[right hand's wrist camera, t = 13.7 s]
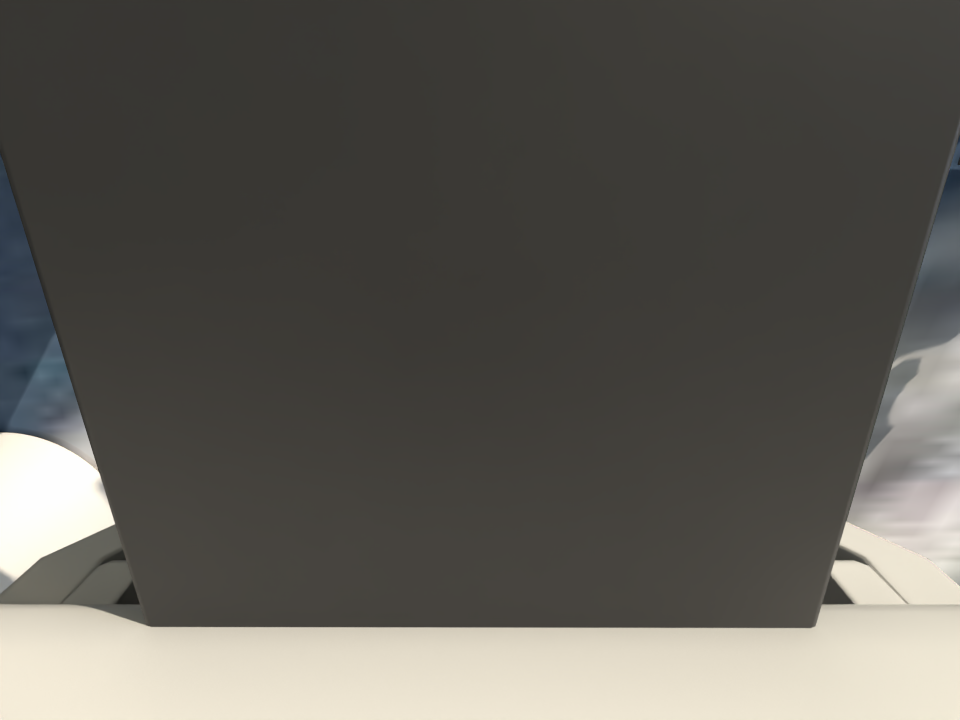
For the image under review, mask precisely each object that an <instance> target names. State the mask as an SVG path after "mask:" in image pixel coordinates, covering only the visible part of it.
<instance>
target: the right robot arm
mask: <svg viewBox="0 0 960 720" xmlns="http://www.w3.org/2000/svg"><path fill="white" fill-rule="evenodd" d="M0 720H960V586H959V585H958V584H956V583H955V582H954V581H953V580H952V579H951V578H950V577H948V576H947V575H946V574H945V573H944V572H943V571H942V570H940V569H939V568H938V567H937V566H936V565H935V564H934V563H933V562H931V561H930V560H929V559H928V558H925V557H923V556H921V555H919V554H917V553H914V552H912V551H910V550H908V549H905V548H903V547H901V546H899V545H897V544H894V543H892V542H890V541H888V540H886V539H883V538H881V537H879V536H877V535H875V534H872V533H870V532H868V531H866V530H863V529H861V528H859V527H857V526H855V525H852V524H850V523H848V522H846V524H845V527H844V531H843V534H842V537H841V541H840V544H839V548H838V551H837V555H836V558H835V561H834V565H833V568H832V572H831V575H830V578H829V582H828V585H827V589H826V592H825V595H824V599H823V602H822V606H821V609H820V613H819V616H818V619H817V623H816V626H815V627H812V628H441V627H150V626H147V625H146V622H145V619H144V616H143V613H142V609H141V606H140V603H139V600H138V597H137V593H136V590H135V587H134V584H133V580H132V577H131V574H130V571H129V567H128V564H127V561H126V558H125V554H124V551H123V548H122V545H121V541H120V538H119V535H118V532H117V529H116V525H115V522H114V519H113V516H112V512H111V509H110V506H109V503H108V499H107V496H106V493H105V490H104V486H103V483H102V480H101V477H100V473H99V472H98V471H97V470H96V469H95V468H93V467H92V466H91V465H90V464H89V463H87V462H86V461H85V460H83V459H82V458H80V457H79V456H77V455H76V454H74V453H73V452H71V451H69V450H67V449H65V448H63V447H61V446H59V445H57V444H55V443H52V442H50V441H47V440H44V439H41V438H38V437H34V436H30V435H24V434H18V433H0Z"/></svg>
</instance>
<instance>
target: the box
mask: <svg viewBox="0 0 960 720" xmlns="http://www.w3.org/2000/svg"><path fill="white" fill-rule="evenodd" d="M959 135H960V0H0V153H1V156H2V159H3V163H4V166H5V169H6V172H7V176H8V179H9V182H10V185H11V189H12V192H13V195H14V198H15V202H16V205H17V208H18V211H19V214H20V218H21V221H22V224H23V227H24V231H25V234H26V237H27V240H28V244H29V247H30V250H31V253H32V257H33V260H34V263H35V266H36V270H37V273H38V276H39V279H40V282H41V286H42V289H43V292H44V295H45V299H46V302H47V305H48V308H49V312H50V315H51V318H52V321H53V325H54V328H55V331H56V334H57V338H58V341H59V344H60V347H61V350H62V354H63V357H64V360H65V363H66V367H67V370H68V373H69V376H70V380H71V383H72V386H73V389H74V393H75V396H76V399H77V402H78V406H79V409H80V412H81V415H82V418H83V422H84V425H85V428H86V431H87V435H88V438H89V441H90V444H91V448H92V451H93V454H94V457H95V461H96V464H97V467H98V470H99V473H100V477H101V480H102V483H103V486H104V490H105V493H106V496H107V499H108V503H109V506H110V509H111V512H112V516H113V519H114V522H115V525H116V529H117V532H118V535H119V538H120V541H121V545H122V548H123V551H124V554H125V558H126V561H127V564H128V567H129V571H130V574H131V577H132V580H133V584H134V587H135V590H136V593H137V597H138V600H139V603H140V606H141V609H142V613H143V616H144V619H145V622H146V625H147V626H150V627H441V628H812V627H815V626H816V623H817V619H818V616H819V613H820V609H821V606H822V602H823V599H824V595H825V592H826V589H827V585H828V582H829V578H830V575H831V572H832V568H833V565H834V561H835V558H836V555H837V551H838V548H839V544H840V541H841V537H842V534H843V531H844V527H845V524H846V520H847V517H848V514H849V510H850V507H851V503H852V500H853V497H854V493H855V490H856V486H857V483H858V480H859V476H860V473H861V469H862V466H863V462H864V459H865V456H866V452H867V449H868V445H869V442H870V439H871V435H872V432H873V428H874V425H875V422H876V418H877V415H878V411H879V408H880V404H881V401H882V398H883V394H884V391H885V387H886V384H887V381H888V377H889V374H890V370H891V367H892V364H893V360H894V357H895V353H896V350H897V346H898V343H899V340H900V336H901V333H902V329H903V326H904V323H905V319H906V316H907V312H908V309H909V306H910V302H911V299H912V295H913V292H914V288H915V285H916V282H917V278H918V275H919V271H920V268H921V265H922V261H923V258H924V254H925V251H926V248H927V244H928V241H929V237H930V234H931V231H932V227H933V224H934V220H935V217H936V213H937V210H938V207H939V203H940V200H941V196H942V193H943V190H944V186H945V183H946V179H947V176H948V173H949V169H950V166H951V162H952V159H953V155H954V152H955V149H956V145H957V142H958V138H959Z"/></svg>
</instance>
